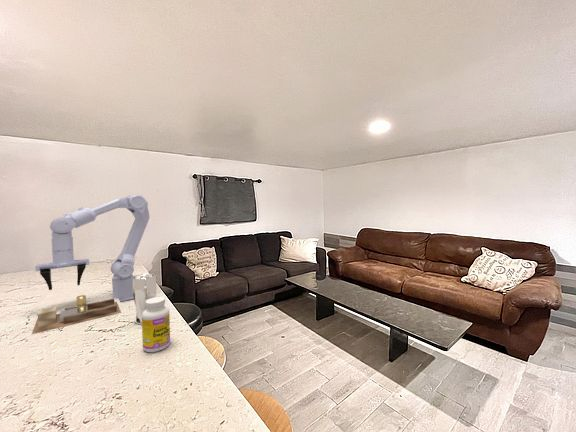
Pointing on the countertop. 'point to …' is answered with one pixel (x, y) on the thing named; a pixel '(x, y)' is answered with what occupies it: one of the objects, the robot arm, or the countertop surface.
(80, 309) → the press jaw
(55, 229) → the robot arm
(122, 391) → the countertop surface
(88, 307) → the press board
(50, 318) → the block
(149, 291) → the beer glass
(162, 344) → the supplement bottle
